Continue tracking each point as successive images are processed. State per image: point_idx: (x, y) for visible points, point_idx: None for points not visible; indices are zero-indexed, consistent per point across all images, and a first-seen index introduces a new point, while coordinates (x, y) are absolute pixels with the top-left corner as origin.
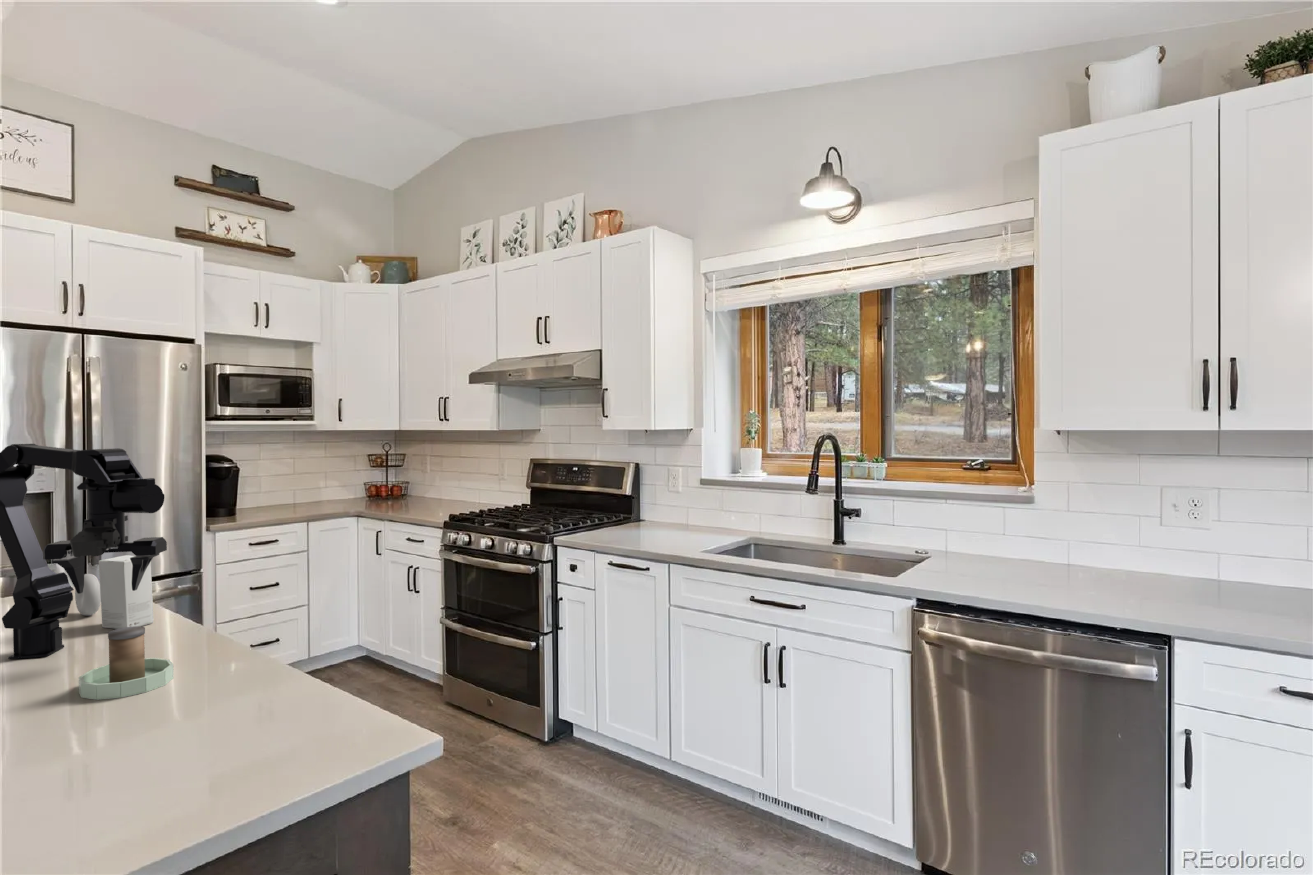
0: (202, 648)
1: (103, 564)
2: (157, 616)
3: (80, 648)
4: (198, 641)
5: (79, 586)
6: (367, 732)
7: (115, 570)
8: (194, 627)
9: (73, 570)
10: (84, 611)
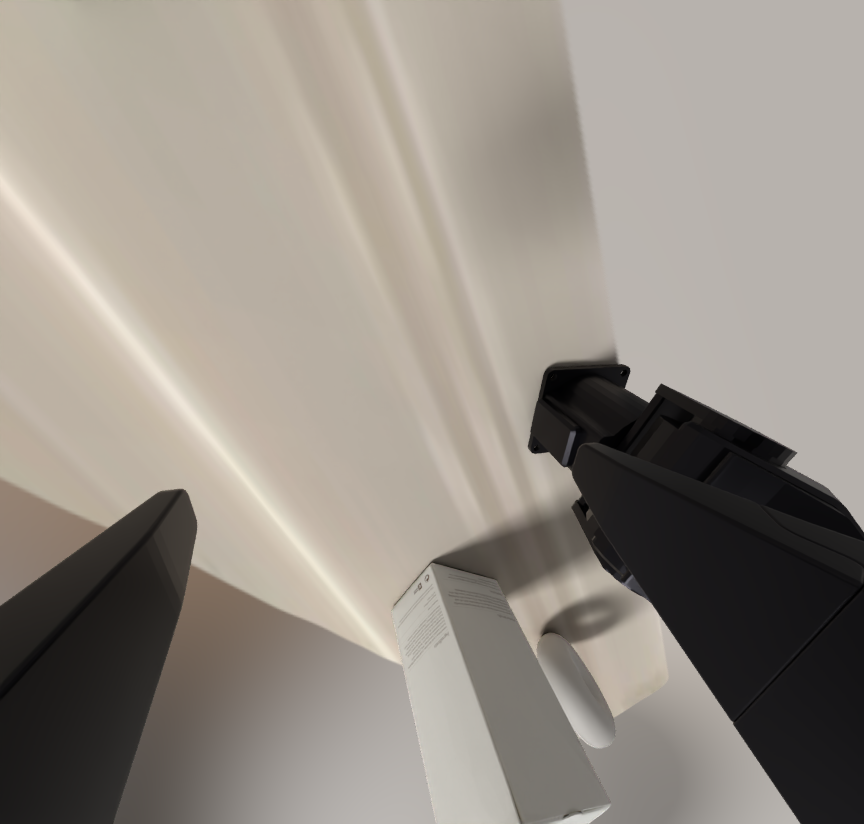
0: (2, 371)
1: (588, 789)
2: None
3: (485, 437)
4: (113, 463)
5: (620, 473)
6: None
7: (535, 767)
8: (249, 587)
9: (841, 568)
10: (557, 637)
